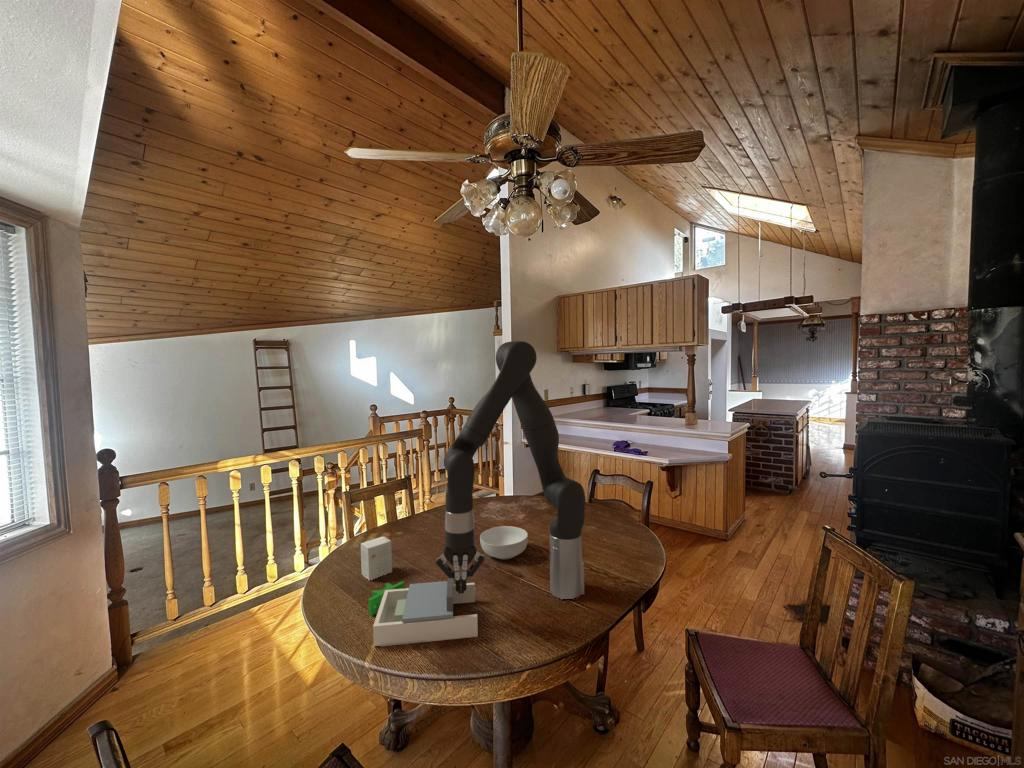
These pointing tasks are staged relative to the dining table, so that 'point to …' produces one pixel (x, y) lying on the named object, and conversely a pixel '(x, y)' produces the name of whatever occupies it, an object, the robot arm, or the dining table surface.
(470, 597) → the housing
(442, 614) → the lid
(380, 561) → the small box
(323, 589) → the dining table surface
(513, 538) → the cereal bowl
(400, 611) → the pale green block
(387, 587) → the pipe clamp
